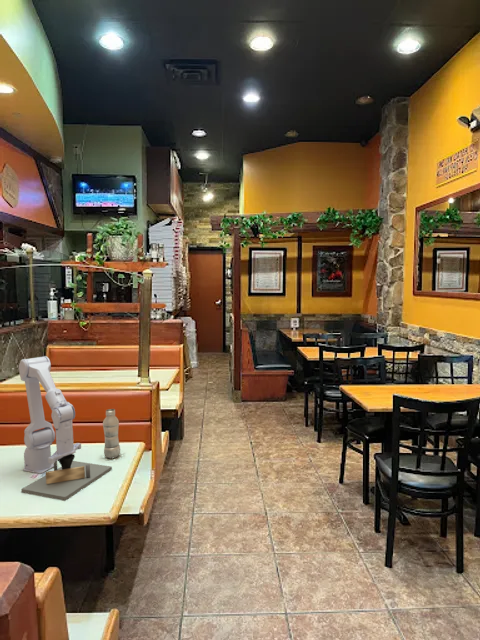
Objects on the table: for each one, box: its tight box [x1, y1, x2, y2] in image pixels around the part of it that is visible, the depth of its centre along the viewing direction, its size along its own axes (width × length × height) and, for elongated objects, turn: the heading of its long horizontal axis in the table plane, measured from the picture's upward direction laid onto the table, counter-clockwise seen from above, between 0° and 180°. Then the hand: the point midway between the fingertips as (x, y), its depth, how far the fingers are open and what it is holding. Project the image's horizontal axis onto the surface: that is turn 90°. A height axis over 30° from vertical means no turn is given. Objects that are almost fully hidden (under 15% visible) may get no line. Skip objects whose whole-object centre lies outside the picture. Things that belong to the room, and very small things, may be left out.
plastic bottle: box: [102, 408, 121, 459], centre depth 174 cm, size 6×7×20 cm
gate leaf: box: [45, 466, 85, 484], centre depth 151 cm, size 13×1×4 cm, turn 111°
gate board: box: [20, 460, 113, 501], centre depth 154 cm, size 19×25×6 cm
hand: (66, 474), depth 153 cm, fingers closed, pressing on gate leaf
